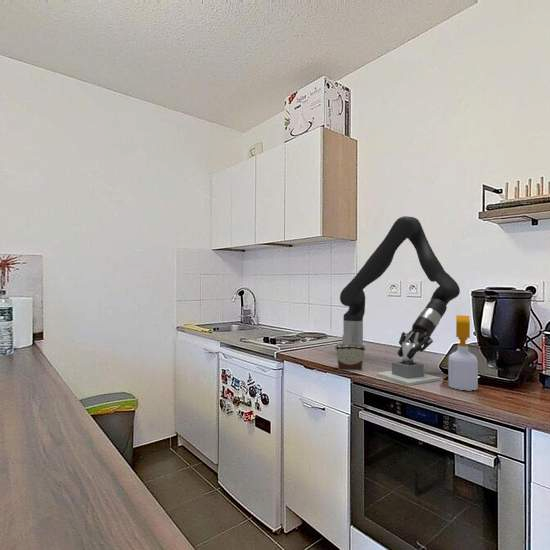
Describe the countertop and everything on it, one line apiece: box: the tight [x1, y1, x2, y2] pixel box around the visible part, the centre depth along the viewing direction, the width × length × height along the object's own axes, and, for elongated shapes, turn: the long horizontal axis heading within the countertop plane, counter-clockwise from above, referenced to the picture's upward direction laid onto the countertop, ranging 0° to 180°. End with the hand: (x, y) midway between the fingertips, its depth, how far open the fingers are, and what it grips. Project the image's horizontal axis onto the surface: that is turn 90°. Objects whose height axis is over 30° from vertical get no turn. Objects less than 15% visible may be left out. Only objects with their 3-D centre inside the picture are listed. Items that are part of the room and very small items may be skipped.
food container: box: [334, 343, 366, 371], centre depth 160 cm, size 12×6×10 cm, turn 84°
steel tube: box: [401, 341, 415, 365], centre depth 145 cm, size 4×4×9 cm
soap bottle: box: [447, 314, 479, 392], centre depth 132 cm, size 9×9×25 cm
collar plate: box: [376, 360, 441, 386], centre depth 145 cm, size 16×16×6 cm
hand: (404, 356), depth 144 cm, fingers closed on steel tube, 4 cm apart
